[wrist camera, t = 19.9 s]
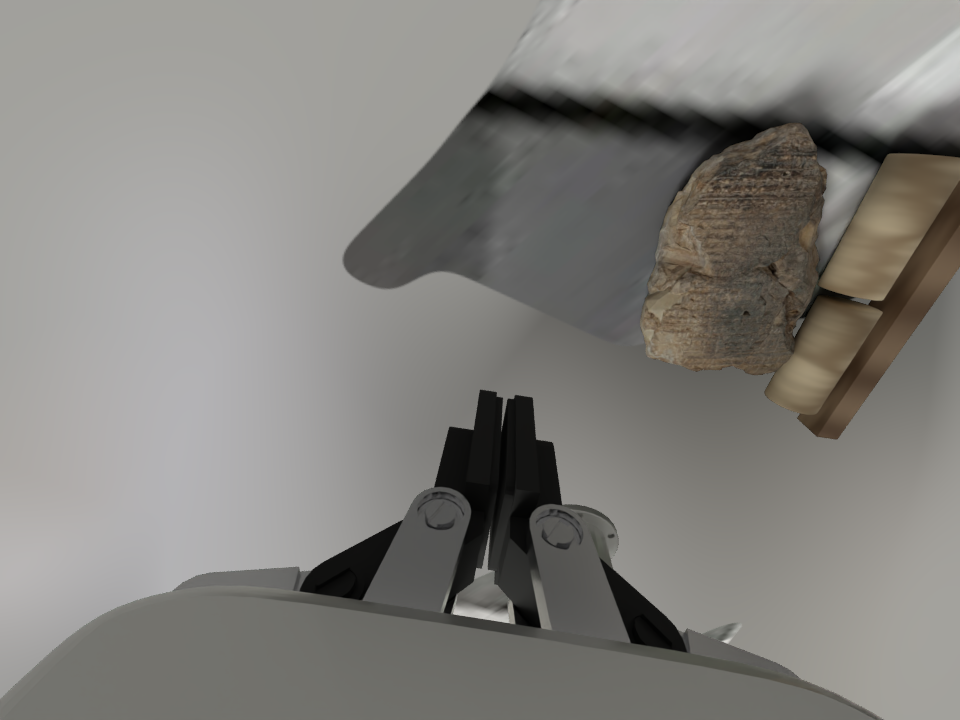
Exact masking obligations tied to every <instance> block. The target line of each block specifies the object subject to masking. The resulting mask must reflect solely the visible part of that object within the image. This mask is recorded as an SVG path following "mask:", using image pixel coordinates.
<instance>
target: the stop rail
mask: <svg viewBox="0 0 960 720" xmlns="http://www.w3.org/2000/svg"><path fill="white" fill-rule="evenodd" d="M959 267H960V181H959V182H958V184H957V185H956V187H955V188H954V190H953V192H952V193H951V195H950V196H949V198H948V199H947V201H946V203H945V204H944V206H943V207H942V209H941V210H940V212H939V214H938V215H937V217H936V218H935V220H934V221H933V223H932V225H931V226H930V228H929V229H928V231H927V232H926V234H925V236H924V237H923V239H922V240H921V242H920V243H919V245H918V247H917V248H916V250H915V251H914V253H913V254H912V256H911V257H910V259H909V261H908V262H907V264H906V265H905V267H904V268H903V270H902V272H901V273H900V275H899V276H898V278H897V279H896V281H895V283H894V284H893V286H892V287H891V289H890V290H889V292H888V294H887V295H886V297H885V298H884V300H882V301H876V300H871V301H870V303H869V306H872V307H874V308H877V309H879V310H880V311H882V312H883V313H882V315H881V316H880V318H879V320H878V321H877V323H876V324H875V326H874V327H873V329H872V330H871V332H870V333H869V335H868V336H867V338H866V339H865V341H864V343H863V344H862V346H861V347H860V349H859V350H858V352H857V353H856V355H855V356H854V358H853V359H852V361H851V362H850V364H849V365H848V367H847V369H846V370H845V372H844V373H843V375H842V376H841V378H840V379H839V381H838V382H837V384H836V385H835V387H834V388H833V390H832V392H831V393H830V395H829V396H828V398H827V399H826V401H825V402H824V404H823V405H822V407H821V408H820V410H819V411H818V413H817V414H815V415H806V414H801V413H800V415H799V416H798V418H797V419H798V420H799V421H801V422H802V423H803V424H804V425H805V426H806V427H807V428H808V429H809V430H810V431H811V432H812V433H814V434H815V435H816V436H817V437H824V438H830V439H838V438H839V436H840V435H841V433H842V432H843V431H844V429H845V428H846V426H847V425H848V424H849V422H850V421H851V419H852V418H853V416H854V415H855V414H856V412H857V411H858V409H859V408H860V407H861V405H862V404H863V402H864V401H865V400H866V398H867V397H868V395H869V394H870V392H871V391H872V390H873V388H874V387H875V385H876V384H877V383H878V381H879V380H880V378H881V377H882V376H883V374H884V373H885V371H886V370H887V369H888V367H889V366H890V364H891V363H892V362H893V360H894V359H895V357H896V356H897V354H898V353H899V352H900V350H901V349H902V347H903V346H904V345H905V343H906V342H907V340H908V339H909V338H910V336H911V334H912V333H913V332H914V331H915V329H916V328H917V326H918V325H919V324H920V322H921V321H922V319H923V318H924V316H925V315H926V313H927V312H928V311H929V309H930V308H931V307H932V305H933V304H934V302H935V301H936V300H937V298H938V297H939V295H940V294H941V293H942V291H943V290H944V288H945V287H946V285H947V284H948V283H949V281H950V280H951V278H952V277H953V276H954V274H955V272H956V271H957V270H958V269H959Z"/></svg>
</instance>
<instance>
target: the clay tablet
mask: <svg viewBox="0 0 960 720" xmlns="http://www.w3.org/2000/svg"><path fill="white" fill-rule="evenodd" d="M826 180H827V172H826V169H825V168H823V167H822V166H821V165H819V163H818V162H817V146H816V145H815V144H814V142H813V141H812V139H811V137H810V135H809V132H808V130H807V129H806V128H805V127H804V126H803V125H802V124H801V123H788V124H785V125H783V126H778V127H773V128H770V129H767V130H765V131H763V132H761V133H758V134H757V135H756V136H755V137H754V138H753V139H752V140H749V141H744V142H741V143H738V144H735V145H732V146H729V147H728V148H726V149H724V150H723V152H722V153H720V154H717V155H713V156H712V157H711V158H710V159H709V160H706V161H704V162H703V163H702V164H701V165H700V166H699V167H698V168H697V169H696V170H695V171H694V172H693V174H692V175H691V177H690V179H689V181H688V183H687V184H686V186H685V187H684V189H683V190H682V191H678V193H677V195H676V197H675V199H674V201H673V203H672V204H671V205H670V206H669V207H668V210H667V213H666V216H665V219H664V222H663V225H662V228H661V230H660V234H659V242H658V247H657V250H656V253H655V258H656V265H655V268H654V270H653V272H652V274H651V276H650V279H649V281H648V284H647V285H648V291H649V294H648V296H647V297H646V298H645V302H644V305H643V308H642V314H641V320H640V326H641V330H642V333H643V335H644V341H645V343H646V355H647V356H648V357H649V358H652V359H660V360H661V361H663V362H667V363H672V364H676V365H681V366H683V367H685V368H687V369H689V370H693V371H696V372H697V371H700V370H703V369H704V370H721V369H722V368H725V367H729V366H734V367H736V368H738V369H742V370H744V371H745V373H748V374H751V375H763V374H765V373H772V372H776V371H777V370H778V369H779V368H780V367H781V366H782V365H783V364H784V363H786V362H787V361H788V360H789V359H790V357H791V356H792V355H793V354H794V351H795V340H794V336H793V335H792V333H793V329H794V328H795V327H796V321H797V320H798V319H799V318H800V317H801V316H802V315H803V313H804V311H805V309H806V307H807V306H808V304H809V303H810V301H811V298H812V294H813V291H814V288H815V286H816V284H817V281H818V277H819V275H818V272H817V271H816V270H815V269H816V267H817V264H818V262H819V256H818V252H817V248H816V246H815V241H816V239H817V237H818V233H817V228H818V225H819V222H820V220H821V218H822V208H823V204H824V201H825V200H824V198H823V196H822V195H823V193H824V191H825V190H826Z"/></svg>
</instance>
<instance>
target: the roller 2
mask: <svg viewBox="0 0 960 720" xmlns="http://www.w3.org/2000/svg"><path fill="white" fill-rule="evenodd" d="M959 181H960V158H958V157H949V156H938V155H925V154H887V156H886V158H885V160H884V162H883V164H882V165H881V167H880V169H879V171H878V173H877V175H876V176H875V178H874V180H873V182H872V184H871V186H870V188H869V189H868V191H867V193H866V195H865V197H864V199H863V200H862V202H861V204H860V206H859V208H858V210H857V212H856V213H855V215H854V217H853V219H852V221H851V223H850V224H849V226H848V228H847V230H846V232H845V234H844V236H843V237H842V239H841V241H840V243H839V245H838V247H837V248H836V250H835V252H834V254H833V256H832V258H831V260H830V261H829V263H828V265H827V267H826V269H825V271H824V272H823V274H822V276H821V278H820V280H819V282H818V284H817V285H818V286H820V287H822V288H825V289H827V290H830V291H833V292H837V293H840V294H844V295H848V296H852V297H857V298H862V299H868V300H876V301H882V300H884V298H885V297H886V295H887V294H888V292H889V290H890V289H891V287H892V286H893V284H894V283H895V281H896V279H897V278H898V276H899V275H900V273H901V272H902V270H903V268H904V267H905V265H906V264H907V262H908V261H909V259H910V257H911V256H912V254H913V253H914V251H915V250H916V248H917V247H918V245H919V243H920V242H921V240H922V239H923V237H924V236H925V234H926V232H927V231H928V229H929V228H930V226H931V225H932V223H933V221H934V220H935V218H936V217H937V215H938V214H939V212H940V210H941V209H942V207H943V206H944V204H945V203H946V201H947V199H948V198H949V196H950V195H951V193H952V192H953V190H954V188H955V187H956V185H957V184H958V182H959Z"/></svg>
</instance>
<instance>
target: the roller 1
mask: <svg viewBox="0 0 960 720" xmlns="http://www.w3.org/2000/svg"><path fill="white" fill-rule="evenodd" d="M882 313H883V312H882V311H880V310H879V309H877V308H874V307H872V306H869V305H866V304H863V303H860V302H856V301H852V300H848V299H844V298H839V297H832V296H825V295H818V296H817V298H816V300H815V302H814V303H813V305H812V307H811V309H810V311H809V312H808V314H807V316H806V318H805V320H804V321H803V323H802V325H801V327H800V329H799V330H798V332H797V334H796V336H795V338H794V340H795V351H794V354H793V355H792V356H791V357H790V359H789V360H788V361H787V362H786V363H784V364H783V365H782V366H781V367H780V368H779V369H778V370H777V371H776V372H775V374H774V375H773V377H772V379H771V381H770V382H769V384H768V386H767V388H766V390H765V395H766V396H767V398H769V399H770V400H771V401H773V402H774V403H776V404H777V405H779V406H781V407H783V408H786V409H788V410H791V411H793V412H797V413H801V414H806V415H815V414H817V413H818V411H819V410H820V408H821V407H822V405H823V404H824V402H825V401H826V399H827V398H828V396H829V395H830V393H831V392H832V390H833V388H834V387H835V385H836V384H837V382H838V381H839V379H840V378H841V376H842V375H843V373H844V372H845V370H846V369H847V367H848V365H849V364H850V362H851V361H852V359H853V358H854V356H855V355H856V353H857V352H858V350H859V349H860V347H861V346H862V344H863V343H864V341H865V339H866V338H867V336H868V335H869V333H870V332H871V330H872V329H873V327H874V326H875V324H876V323H877V321H878V320H879V318H880V316H881V315H882Z"/></svg>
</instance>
